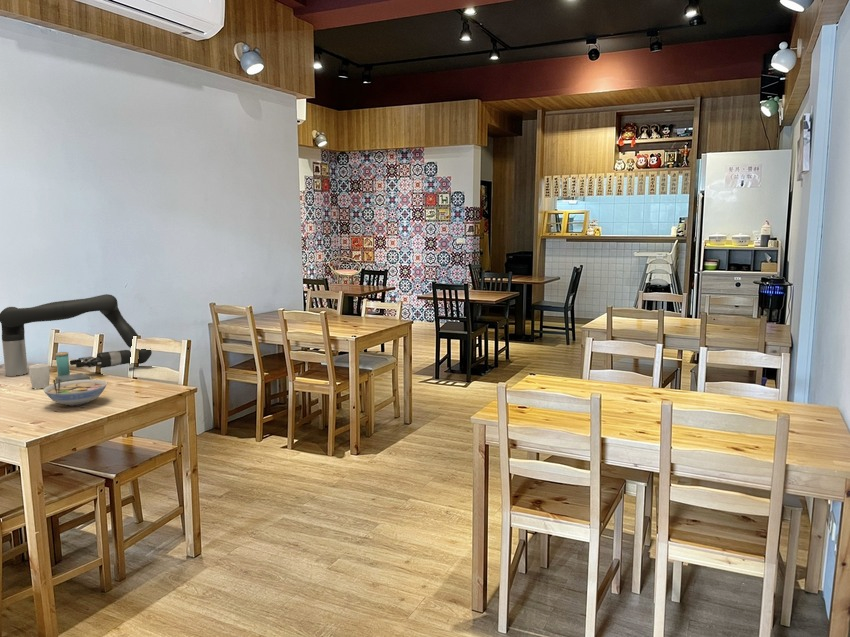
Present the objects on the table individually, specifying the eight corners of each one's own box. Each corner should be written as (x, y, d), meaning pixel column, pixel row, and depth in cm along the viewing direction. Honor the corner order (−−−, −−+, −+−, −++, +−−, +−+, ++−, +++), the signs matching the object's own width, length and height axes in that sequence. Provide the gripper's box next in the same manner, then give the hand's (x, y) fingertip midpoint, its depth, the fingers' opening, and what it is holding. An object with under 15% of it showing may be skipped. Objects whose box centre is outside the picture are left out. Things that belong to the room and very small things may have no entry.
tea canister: (56, 380, 293) (53, 353, 291) (68, 378, 297) (66, 351, 295) (60, 381, 289) (57, 354, 287) (72, 379, 293) (69, 352, 291)
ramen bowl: (110, 407, 247) (109, 387, 246) (43, 415, 236) (41, 394, 235) (107, 393, 269) (105, 374, 268) (45, 400, 258) (43, 381, 256)
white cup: (55, 385, 283) (53, 364, 281) (42, 389, 275) (40, 367, 273) (38, 385, 283) (37, 363, 282) (26, 389, 276) (24, 367, 274)
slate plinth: (55, 384, 285) (55, 376, 284) (81, 380, 292) (81, 372, 292) (63, 388, 277) (63, 380, 277) (90, 383, 285) (89, 376, 285)
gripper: (103, 349, 311) (67, 354, 299) (114, 353, 302) (77, 358, 290) (104, 364, 312) (68, 369, 300) (115, 368, 303) (78, 374, 291)
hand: (73, 364), depth 295 cm, fingers open, 8 cm apart
